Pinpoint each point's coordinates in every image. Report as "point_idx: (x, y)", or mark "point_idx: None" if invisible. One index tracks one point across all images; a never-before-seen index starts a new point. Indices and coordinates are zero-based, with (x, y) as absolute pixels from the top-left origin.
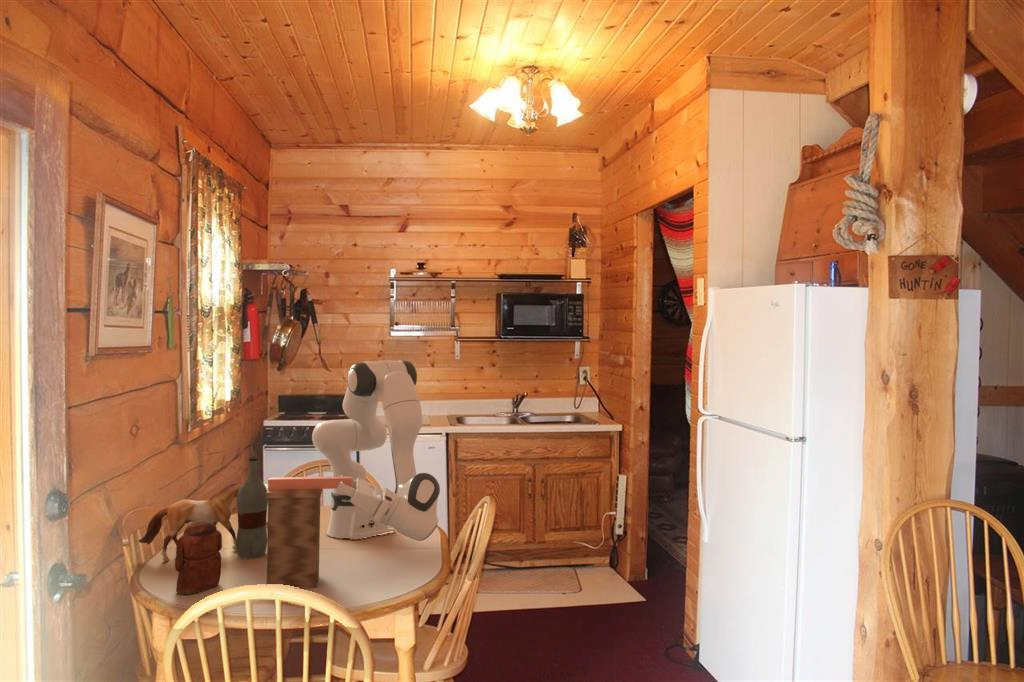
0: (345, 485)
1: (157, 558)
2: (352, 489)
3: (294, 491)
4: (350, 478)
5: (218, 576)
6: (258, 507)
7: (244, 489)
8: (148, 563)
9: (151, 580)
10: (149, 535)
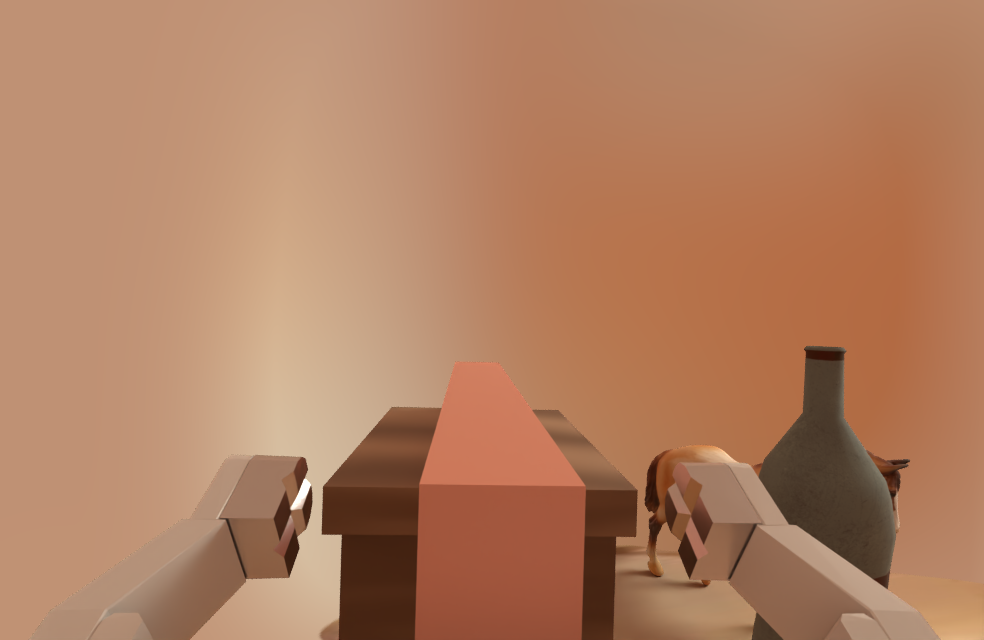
0: (199, 516)
1: (669, 561)
2: (45, 630)
3: (388, 435)
4: (420, 482)
5: None
6: None
7: (768, 456)
8: (632, 556)
9: None
10: (647, 498)
